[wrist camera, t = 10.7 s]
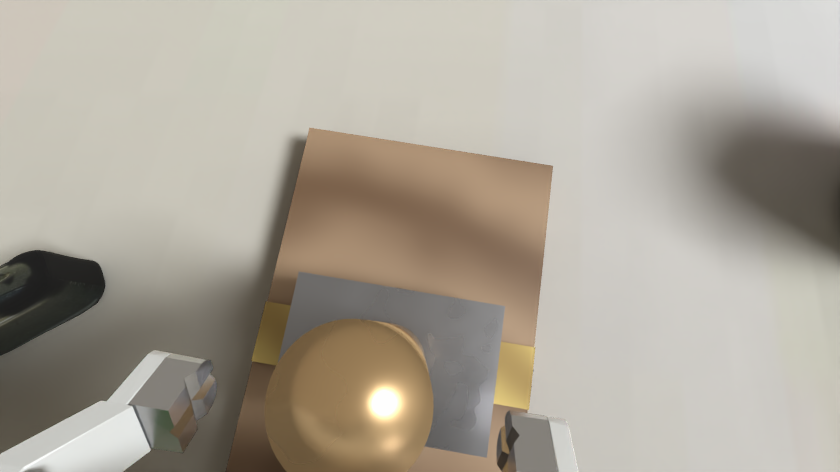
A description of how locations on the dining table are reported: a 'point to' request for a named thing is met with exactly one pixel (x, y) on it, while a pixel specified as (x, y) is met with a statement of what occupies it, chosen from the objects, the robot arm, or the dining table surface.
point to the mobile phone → (44, 294)
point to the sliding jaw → (380, 377)
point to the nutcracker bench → (409, 259)
